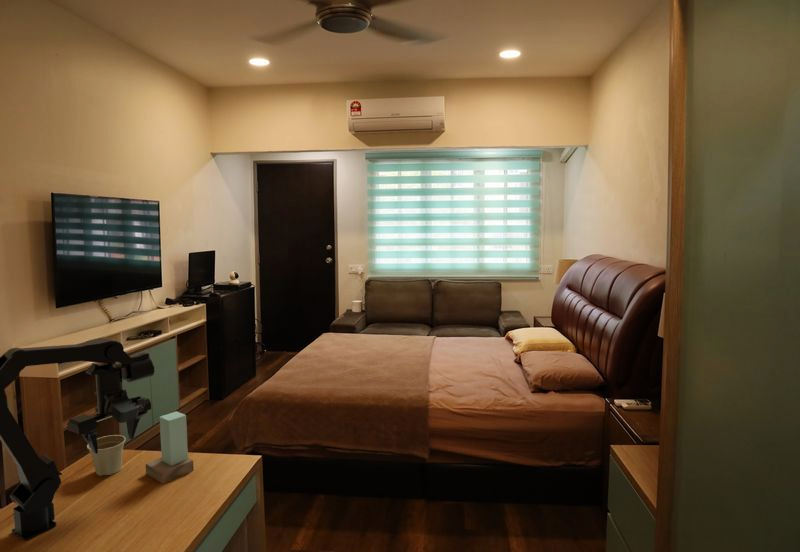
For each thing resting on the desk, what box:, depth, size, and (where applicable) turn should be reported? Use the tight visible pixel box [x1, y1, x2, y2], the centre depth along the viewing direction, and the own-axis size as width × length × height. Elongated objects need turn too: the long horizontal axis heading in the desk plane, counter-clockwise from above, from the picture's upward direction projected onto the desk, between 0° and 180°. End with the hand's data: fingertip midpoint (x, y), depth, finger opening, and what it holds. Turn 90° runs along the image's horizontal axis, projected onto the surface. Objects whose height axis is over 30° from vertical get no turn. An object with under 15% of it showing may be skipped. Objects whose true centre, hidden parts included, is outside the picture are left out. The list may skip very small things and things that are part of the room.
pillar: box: [159, 411, 189, 466], centre depth 138 cm, size 5×5×13 cm
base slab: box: [145, 457, 194, 484], centre depth 138 cm, size 9×9×3 cm
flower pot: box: [86, 434, 127, 477], centre depth 138 cm, size 9×9×9 cm
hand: (114, 445), depth 125 cm, fingers open, 9 cm apart
